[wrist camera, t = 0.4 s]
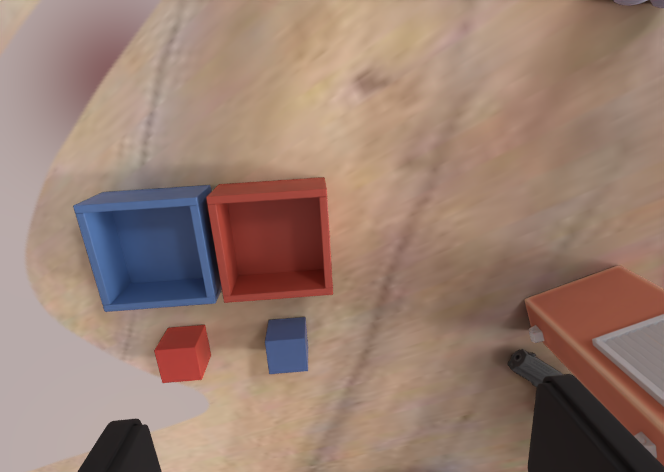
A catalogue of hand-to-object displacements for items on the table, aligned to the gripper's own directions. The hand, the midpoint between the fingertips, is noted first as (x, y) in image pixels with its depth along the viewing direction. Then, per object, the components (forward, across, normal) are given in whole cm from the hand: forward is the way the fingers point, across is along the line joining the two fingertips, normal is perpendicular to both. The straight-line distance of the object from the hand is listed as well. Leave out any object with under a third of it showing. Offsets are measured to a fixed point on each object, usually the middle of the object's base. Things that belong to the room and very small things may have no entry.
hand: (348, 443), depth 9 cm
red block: (+36, +18, +19) cm, 44 cm away
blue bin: (+35, +18, +5) cm, 40 cm away
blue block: (+36, +5, +19) cm, 41 cm away
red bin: (+35, +5, +5) cm, 36 cm away
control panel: (+36, -32, +18) cm, 51 cm away
